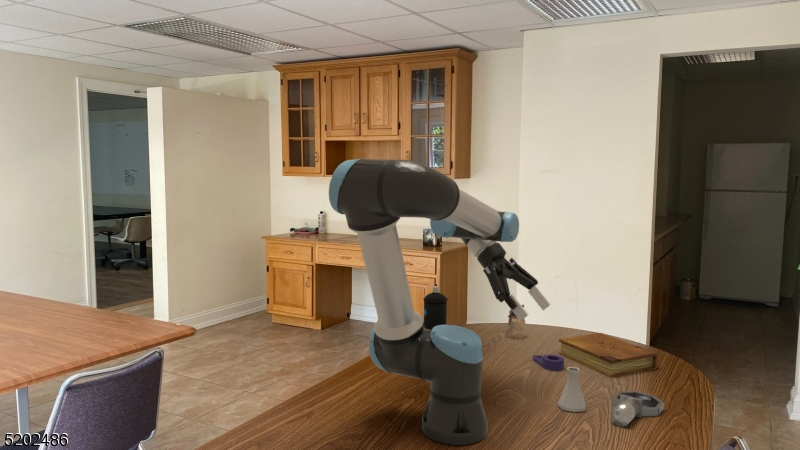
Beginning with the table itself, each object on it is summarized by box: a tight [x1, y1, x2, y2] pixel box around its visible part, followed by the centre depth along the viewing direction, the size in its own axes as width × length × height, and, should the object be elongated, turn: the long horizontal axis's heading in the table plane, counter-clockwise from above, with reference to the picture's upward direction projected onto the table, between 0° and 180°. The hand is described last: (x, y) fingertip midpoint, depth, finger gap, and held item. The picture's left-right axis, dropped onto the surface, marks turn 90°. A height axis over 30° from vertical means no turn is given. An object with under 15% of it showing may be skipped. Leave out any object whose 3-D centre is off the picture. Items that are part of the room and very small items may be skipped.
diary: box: [557, 332, 659, 379], centre depth 182 cm, size 23×19×6 cm
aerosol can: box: [422, 285, 449, 330], centre depth 196 cm, size 8×8×20 cm
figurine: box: [505, 304, 528, 340], centre depth 207 cm, size 7×7×12 cm
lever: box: [532, 354, 565, 372], centre depth 178 cm, size 12×6×3 cm, turn 23°
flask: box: [556, 366, 587, 413], centre depth 146 cm, size 7×7×10 cm
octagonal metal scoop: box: [610, 390, 665, 428], centre depth 144 cm, size 20×11×4 cm, turn 142°
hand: (536, 312), depth 151 cm, fingers open, 13 cm apart
